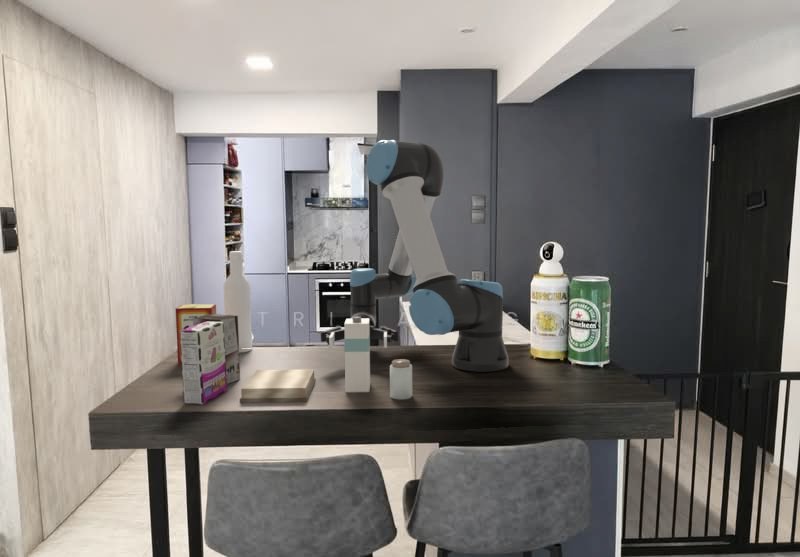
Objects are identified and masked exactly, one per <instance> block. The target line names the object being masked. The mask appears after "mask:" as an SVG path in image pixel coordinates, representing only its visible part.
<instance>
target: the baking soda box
mask: <svg viewBox="0 0 800 557" xmlns="http://www.w3.org/2000/svg"><path fill="white" fill-rule="evenodd" d="M208 314H217V304H216V303H214V304H205V303H204V304H203V303H201V304H199V303H191V304H182V305H179V306H177V307H175V326H176V327H175V328H176V346H177V347H176V348H177V365H178V364H182V360H181V343H180V331H181V330H184V329H186V328H189V327H192V326H193V318H196V317H200V316H203V315H208Z"/></svg>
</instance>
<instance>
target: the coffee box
mask: <svg viewBox="0 0 800 557" xmlns="http://www.w3.org/2000/svg"><path fill="white" fill-rule="evenodd" d="M207 321H211V322H212V321H216V322H224V342H225V360H226V380H227V385H228V384H231V383H234V382H236V381H240V379H241V371H240V370H241V365H240V362H241V361H240V353H239V336H238V316H233V315H225V314H220V313H218V314H217V313H216V314H208V315H203V316H200V317H196V318H193V326H195V325H197V324H200V323H203V322H207Z"/></svg>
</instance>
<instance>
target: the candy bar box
mask: <svg viewBox="0 0 800 557" xmlns="http://www.w3.org/2000/svg"><path fill="white" fill-rule="evenodd" d="M180 343H181V360H182V365H181V372H182V386H183V387H182V389H183V390H182V391H183V403H184V404H186V405H205V404H207V403H209V402H210V401H212V400H213V399H215V398H216V397H219V395H222V394H223V393H225V392H226V391H227V390H228V384H227V380H226V360H225V342H224V322H216V321H212V322H211V321H207V322H203V323H200V324H197V325H195V326H192V327H189V328H186V329H184V330H181V331H180Z"/></svg>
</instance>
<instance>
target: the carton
mask: <svg viewBox="0 0 800 557" xmlns="http://www.w3.org/2000/svg"><path fill="white" fill-rule="evenodd" d="M343 325H344V328H343V329H344V332H345V339H343V340H344V377H345V378H344V384H345V385H344V386H345V388H344V389H345V393H370V388H371V355H370V354H371V339H370V326H369V318H361V317H353V318H351V317H350V318H346V319H345V321H344V324H343Z"/></svg>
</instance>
